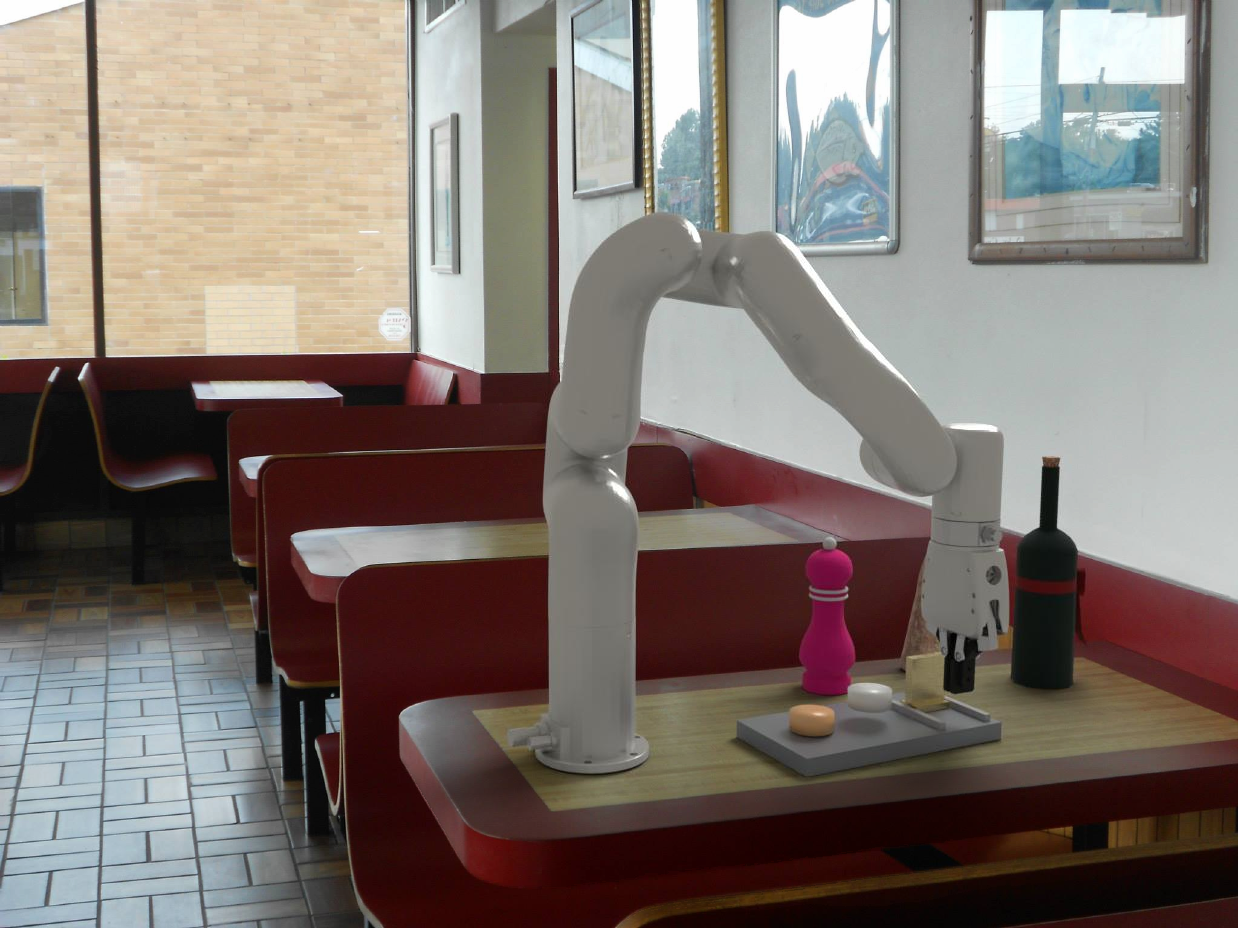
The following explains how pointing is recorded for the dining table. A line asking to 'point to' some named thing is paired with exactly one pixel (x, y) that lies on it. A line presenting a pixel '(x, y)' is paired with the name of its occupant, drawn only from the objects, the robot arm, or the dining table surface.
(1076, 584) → the wine bottle
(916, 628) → the brown speckled elongated rod
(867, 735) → the control panel
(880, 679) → the dining table surface
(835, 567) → the pepper mill
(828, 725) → the orange button
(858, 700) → the white knob
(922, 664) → the brass paddle
